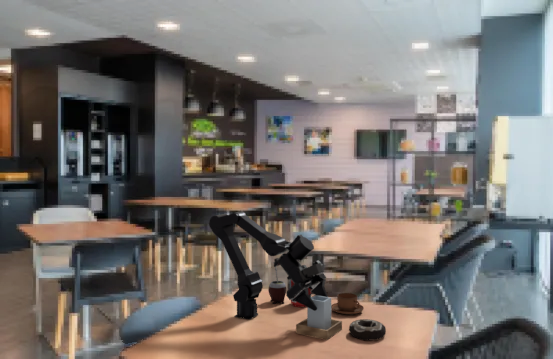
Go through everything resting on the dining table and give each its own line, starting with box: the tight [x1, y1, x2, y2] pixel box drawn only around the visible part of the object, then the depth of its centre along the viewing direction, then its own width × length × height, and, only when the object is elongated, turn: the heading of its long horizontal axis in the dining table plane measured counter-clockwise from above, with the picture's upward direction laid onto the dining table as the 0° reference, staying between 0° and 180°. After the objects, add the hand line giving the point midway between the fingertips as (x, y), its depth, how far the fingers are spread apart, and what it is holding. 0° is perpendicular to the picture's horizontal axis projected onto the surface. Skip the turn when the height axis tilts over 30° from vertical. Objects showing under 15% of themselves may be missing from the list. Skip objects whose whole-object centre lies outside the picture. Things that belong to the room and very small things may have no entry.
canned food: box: [290, 279, 312, 308], centre depth 192 cm, size 8×8×11 cm
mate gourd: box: [267, 261, 287, 305], centre depth 195 cm, size 8×8×15 cm
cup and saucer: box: [331, 292, 364, 315], centre depth 184 cm, size 12×12×6 cm
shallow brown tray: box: [295, 318, 343, 341], centre depth 162 cm, size 11×11×3 cm
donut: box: [348, 318, 387, 341], centre depth 159 cm, size 12×12×4 cm
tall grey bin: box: [306, 294, 332, 330], centre depth 162 cm, size 6×6×10 cm
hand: (322, 306), depth 161 cm, fingers open, 9 cm apart
